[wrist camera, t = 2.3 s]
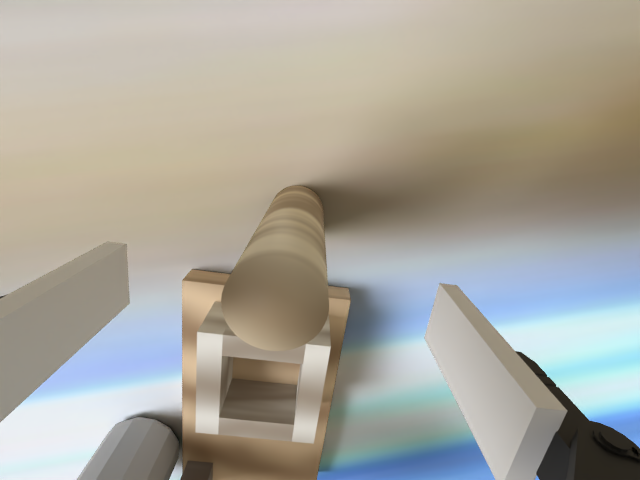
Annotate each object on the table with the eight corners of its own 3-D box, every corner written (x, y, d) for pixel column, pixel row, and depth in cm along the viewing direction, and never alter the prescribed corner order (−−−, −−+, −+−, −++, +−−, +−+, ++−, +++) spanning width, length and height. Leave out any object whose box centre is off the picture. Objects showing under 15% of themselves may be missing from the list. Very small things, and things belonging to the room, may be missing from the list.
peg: (273, 182, 25) (223, 250, 12) (326, 189, 25) (336, 263, 12) (269, 232, 26) (218, 345, 13) (319, 238, 26) (321, 356, 13)
